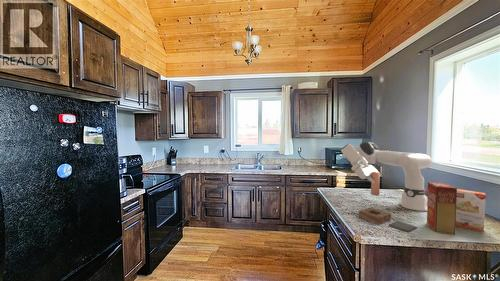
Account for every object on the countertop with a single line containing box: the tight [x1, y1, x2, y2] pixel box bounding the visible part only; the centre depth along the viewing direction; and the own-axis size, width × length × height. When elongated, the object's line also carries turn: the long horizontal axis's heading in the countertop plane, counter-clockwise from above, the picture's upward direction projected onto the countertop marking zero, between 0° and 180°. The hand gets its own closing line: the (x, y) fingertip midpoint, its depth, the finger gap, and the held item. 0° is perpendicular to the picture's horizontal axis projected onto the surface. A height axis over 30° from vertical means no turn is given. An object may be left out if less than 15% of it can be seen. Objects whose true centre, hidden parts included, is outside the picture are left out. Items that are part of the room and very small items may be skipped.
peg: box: [370, 171, 381, 197], centre depth 137 cm, size 4×4×14 cm
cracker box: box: [456, 188, 487, 233], centre depth 127 cm, size 14×6×21 cm, turn 45°
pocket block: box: [358, 207, 392, 225], centre depth 138 cm, size 13×13×4 cm
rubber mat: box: [388, 220, 418, 233], centre depth 126 cm, size 10×10×1 cm
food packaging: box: [426, 181, 458, 236], centre depth 124 cm, size 13×9×25 cm
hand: (376, 182), depth 137 cm, fingers closed on peg, 4 cm apart
